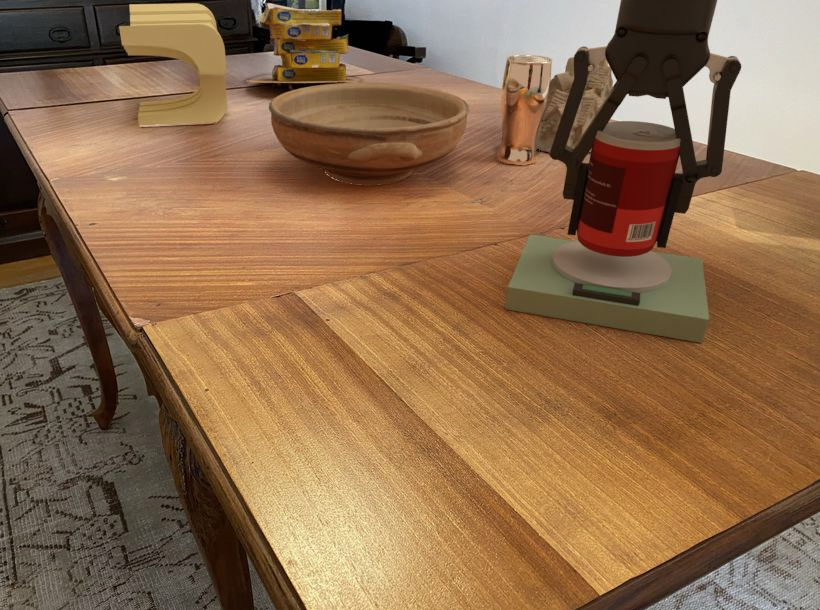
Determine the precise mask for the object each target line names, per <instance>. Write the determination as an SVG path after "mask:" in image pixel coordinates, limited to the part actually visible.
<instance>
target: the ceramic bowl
mask: <svg viewBox="0 0 820 610" xmlns="http://www.w3.org/2000/svg"><path fill="white" fill-rule="evenodd" d="M268 110H269V112H270V121H271V127H272V130H273V132H274V135H275V137H276V138H277V140H278V142H279V144H280V145H281V146H282V147H283V148H284V150H285V151H286V152H288V153H289V154H290V155H291V156H292V157H294V158H296V159H297V160H299V161H301V162H303V163H305V164H307V165H309V166H312V167H315V168H318V169H321V170H323V171H324V170H325V172H326V174H328V175H329V176H330V177H333V178H334V179H337V180H339V181H343V182H347V183H346V184H348V183H352V184H351V185H354V184H361V185H360V186H379V185H378V184H385V185H390V184H389V183H391V184H395V183H394V182H396V183H399V182H402V181H404V180H406V179H408V178H409V177H410V176H411V174H412V172H413V171H416V170H419V169H422V168H426V167H429V166H431V165H433V164H436V163H437V162H439V161H441V160H442V159H444V158H445V157H446V156H448V155H450V153H452V151H454V150H455V148H456V147H457V146H458V144H459V143H460V142H461V140H462V138H463V136H464V134H465V131H466V129H467V125H468V124H467V123H468V115H469V113H470V105H469V104H468V102H467V101H465V100H464V99H463V98H461V97H460V96H457V95H455V94H452V93H450V92H446V91H443V90H439V89H434V88H430V87H424V86H419V85H411V84H401V83H389V82H354V81H350V82H349V81H348V82H339V83H338V82H337V83H328V84H327V83H326V84H320V85H319V84H318V85H311V86H306V87H300V88H297V89H295V90H294V89H293V91H290V90H289V91H286V92H283V93H281V94H279V95H277V96H275V97H274V98H272V100H270V102H269V104H268ZM325 172H324V173H325ZM326 174H325V175H326ZM330 177H329V178H330ZM407 177H408V178H407ZM403 179H404V180H403ZM401 180H402V181H401ZM339 181H338V182H339ZM398 181H399V182H398ZM343 182H342V183H343Z"/></svg>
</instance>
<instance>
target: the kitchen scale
mask: <svg viewBox="0 0 820 610" xmlns="http://www.w3.org/2000/svg"><path fill="white" fill-rule="evenodd" d="M703 264H704V263H703V258H701V257H694V256H688V255H680V254H673V253H667V252H658V251H652V250H651V251H649V252H648V253H645V254H643V255H639V256H632V257H619V256H610V255H605V254H600V253H597V252H594V251H592V250H589V249H588V248H586V247H584V246H583V245H582V244H581V243H580V242H579V241H578V240H573V239H565V238H558V237H551V236H544V235H538V234H537V235H536V234H528V237H527V239H526V241H525V244H524V247H523V249H522V250H521V254H520V257H519V258H518V262H517V264H516V266H515V269H514V271H513V274H512V276H511V279H510V280H509V283H508V286H507V291H506V299H505V307H504V309H505V310H506V311H513V312H518V313H525V314H530V315H536V316H543V317H548V318H554V319H558V320H565V321H571V322H577V323H583V324H588V325H595V326H599V327H600V326H601V327H606V328H611V329H618V330H623V331H629V332H634V333H641V334H647V335H651V336H659V337H664V338H669V339H675V340H680V341H681V340H682V341H687V342H693V343H699V344H702V343H703V342H704V338H705V335H706V332H707V329H708V325H709V322H710V313H709V306H708V297H707V287H706V280H705V271H704V265H703Z"/></svg>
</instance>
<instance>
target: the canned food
mask: <svg viewBox="0 0 820 610" xmlns="http://www.w3.org/2000/svg"><path fill="white" fill-rule="evenodd" d="M680 141H681V139H679V138H678V139H676V134H675V128H673V127H671V126H668V125H664V124H661V123H654V122H647V121H638V120H637V121H636V120H635V121H634V120H617V121H609V122H608V123H607V125H606V126H605V128H604V130H603V131H597V135H596V137H595V142H594V145H593V146H592V149H591V152H590V155H589V161H588V163H589V165H588V171H587V176H586V182H585V187H584V193H583V198H582V203H581V209H580V214H579V220H578V225H577V230H576V235H577V236H576V237H577V241H579V242H580V243H581V244H582V245H583V246H584V247H586V248H588V249H589V250H592V251H594V252H597V253H600V254H605V255H610V256H619V257H632V256H639V255H643V254H645V253H648V252H649V251H652V250H653V249H654V247H655V246H656V245H657V240H658V236H659V232H660V228H661V224H662V221H663V217H664V213H665V209H666V205H667V201H668V198H669V194H670V190H671V186H672V182H673V178H674V175H675V173H676V171H677V168H678V163H679V160H680V155H679V148H680Z"/></svg>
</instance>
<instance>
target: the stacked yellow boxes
mask: <svg viewBox="0 0 820 610" xmlns="http://www.w3.org/2000/svg"><path fill="white" fill-rule="evenodd" d="M342 17H343V13H342V9H341V8H338V9H336V8H334V9H332V10H329V9H328V10H326V9H321V10H320V9H319V10H316V9H313V10H312V9H299V8H295V7H290V6H285V5H280V4H277V3H276V4H275V3H271V2H267V3H266V7H265V9H264V12H262V13H261V14H259V16H258V17H257V21H258V22H259V23H261V24H265V25H268V26H269V33H270V34H269V36H270V37H269V38H270V39H272V40H274V47H273V55H272V56H275V57H277V56H278V57H280V59H281V64H277V65H274V66H273V68H272V71H271V77H272V78H273V79H270V78H257V79H249V80H248V79H247V80H246V82H248V83H262V84H263V83H266V84H267V83H268V84H271V85H272V87H274V88H275V86H276V85H275V84H277V86H278V87H279V86H281V84H288V88H289V91H293V90H296V89H295V88H294V89H293V85H292V84H317V83H319V84H321V83H338V82H339V83H348V82H360V81H361V79H360V78H352V77H351V78H350V77H347V66H346V64H344V63H340V62H341V55H346V54H349V51H348V49H349V48H348V47H349V46H348V45H349V34H346V35H341V36H337V37H336V38H333V37H332V35H333V27H336V26H342V20H343V19H342ZM334 30H337V28H335V29H334Z"/></svg>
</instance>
